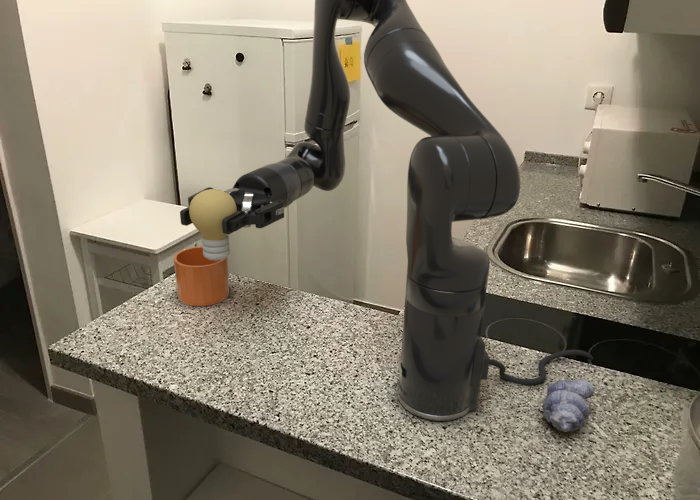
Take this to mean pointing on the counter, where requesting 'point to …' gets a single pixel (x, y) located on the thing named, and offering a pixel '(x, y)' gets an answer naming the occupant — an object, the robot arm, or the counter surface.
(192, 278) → the flower pot
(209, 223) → the light bulb
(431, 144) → the robot arm
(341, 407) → the counter surface
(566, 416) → the seashell
